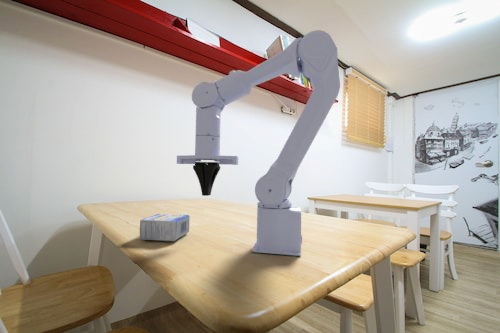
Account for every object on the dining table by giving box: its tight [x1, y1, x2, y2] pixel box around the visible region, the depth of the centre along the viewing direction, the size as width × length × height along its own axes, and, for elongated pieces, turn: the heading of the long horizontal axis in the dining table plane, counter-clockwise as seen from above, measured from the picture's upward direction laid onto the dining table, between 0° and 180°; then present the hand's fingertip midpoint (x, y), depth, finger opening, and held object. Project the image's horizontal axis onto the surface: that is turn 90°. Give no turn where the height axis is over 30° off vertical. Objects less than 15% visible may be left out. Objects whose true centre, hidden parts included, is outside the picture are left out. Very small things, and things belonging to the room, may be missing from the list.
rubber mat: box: [155, 233, 188, 243], centre depth 55 cm, size 6×7×1 cm
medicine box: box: [139, 213, 190, 242], centre depth 54 cm, size 8×4×9 cm
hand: (206, 195), depth 53 cm, fingers closed
